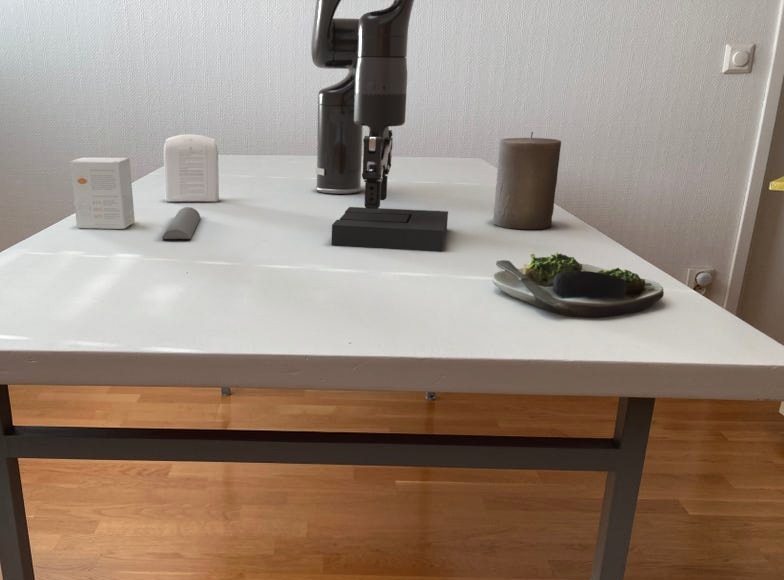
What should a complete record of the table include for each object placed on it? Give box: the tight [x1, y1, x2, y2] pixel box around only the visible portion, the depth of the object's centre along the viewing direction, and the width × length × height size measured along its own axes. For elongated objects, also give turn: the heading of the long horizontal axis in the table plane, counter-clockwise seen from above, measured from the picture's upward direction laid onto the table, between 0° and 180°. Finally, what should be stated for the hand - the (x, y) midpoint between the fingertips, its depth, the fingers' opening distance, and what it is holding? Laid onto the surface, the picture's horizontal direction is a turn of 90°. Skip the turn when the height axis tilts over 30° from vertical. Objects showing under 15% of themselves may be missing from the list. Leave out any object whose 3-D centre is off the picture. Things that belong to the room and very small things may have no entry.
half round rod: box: [161, 206, 201, 240], centre depth 124 cm, size 4×20×2 cm, turn 2°
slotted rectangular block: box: [331, 206, 449, 252], centre depth 119 cm, size 16×16×3 cm
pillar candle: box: [492, 131, 562, 230], centre depth 128 cm, size 10×10×15 cm
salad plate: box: [492, 251, 665, 318], centre depth 90 cm, size 19×18×5 cm
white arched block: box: [163, 133, 220, 203], centre depth 147 cm, size 10×4×12 cm, turn 98°
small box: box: [69, 156, 136, 230], centre depth 124 cm, size 8×6×10 cm
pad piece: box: [339, 212, 409, 223], centre depth 120 cm, size 6×10×3 cm, turn 78°
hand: (375, 203), depth 118 cm, fingers open, 8 cm apart
